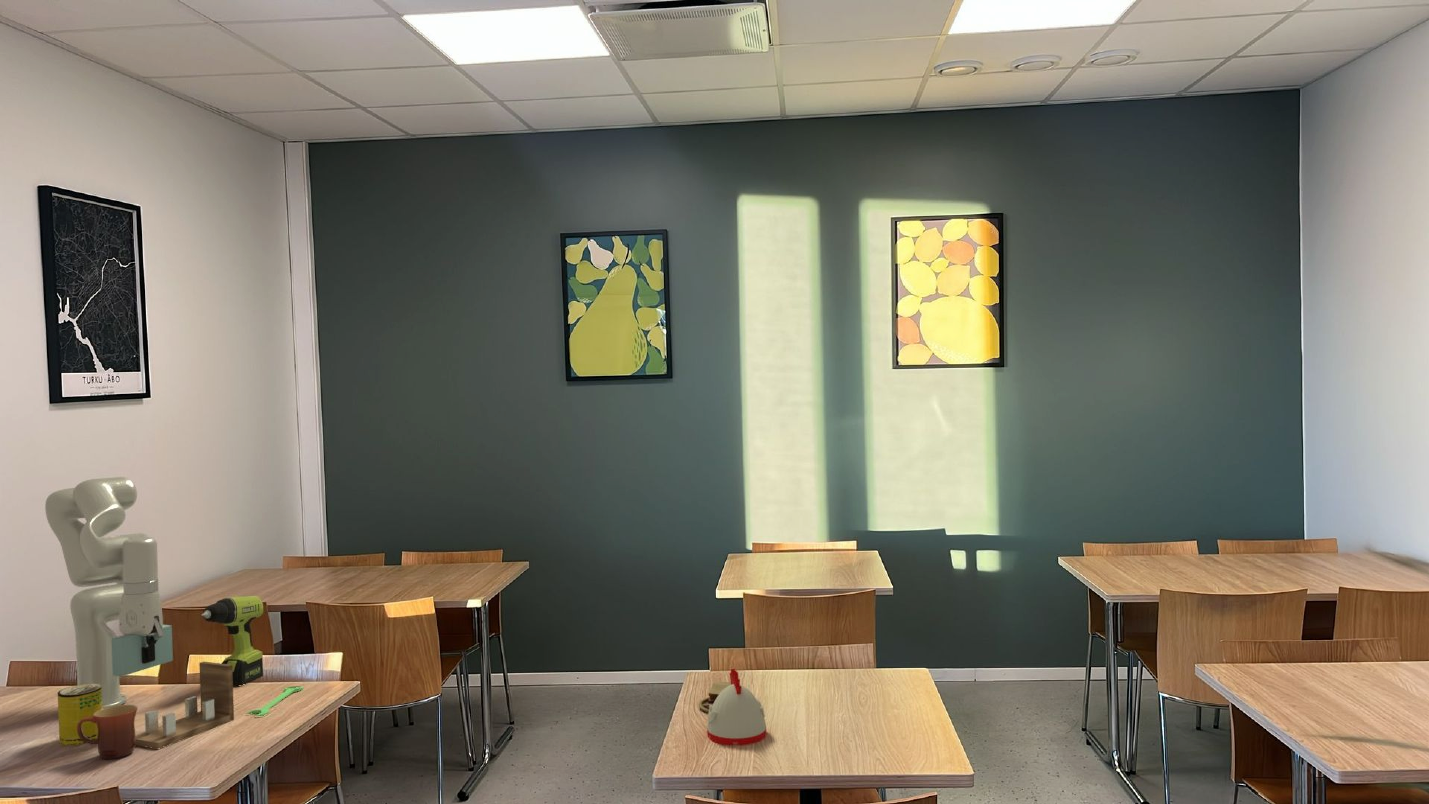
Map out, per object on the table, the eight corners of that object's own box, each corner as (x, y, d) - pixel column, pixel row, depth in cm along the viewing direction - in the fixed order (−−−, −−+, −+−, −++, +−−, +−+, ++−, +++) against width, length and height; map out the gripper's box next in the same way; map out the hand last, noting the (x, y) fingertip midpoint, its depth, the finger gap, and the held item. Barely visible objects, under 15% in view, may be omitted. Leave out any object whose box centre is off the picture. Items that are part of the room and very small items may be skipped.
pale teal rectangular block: (121, 676, 236) (120, 639, 236) (112, 675, 238) (111, 638, 237) (172, 660, 249) (171, 625, 249) (164, 659, 250) (163, 624, 250)
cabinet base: (159, 749, 229) (156, 689, 229) (128, 744, 233) (126, 685, 233) (234, 719, 249) (232, 664, 249) (205, 715, 253) (203, 661, 252)
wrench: (242, 722, 250) (263, 722, 250) (242, 715, 250) (262, 714, 250) (288, 689, 275) (307, 689, 275) (288, 682, 275) (307, 682, 275)
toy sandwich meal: (690, 713, 247) (690, 694, 247) (711, 696, 260) (711, 679, 259) (737, 718, 242) (736, 699, 242) (755, 701, 255) (755, 683, 255)
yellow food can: (110, 730, 243) (108, 682, 243) (93, 743, 234) (91, 693, 234) (70, 733, 242) (68, 685, 241) (52, 746, 233) (50, 696, 232)
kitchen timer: (757, 722, 239) (756, 661, 239) (773, 742, 226) (771, 677, 225) (702, 727, 236) (700, 665, 236) (714, 748, 223) (712, 682, 222)
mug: (141, 745, 232) (140, 702, 232) (136, 758, 224) (134, 713, 224) (82, 754, 228) (80, 710, 227) (74, 767, 220) (72, 721, 219)
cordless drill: (215, 698, 267) (212, 607, 266) (192, 697, 268) (189, 606, 267) (268, 673, 289) (265, 589, 289) (247, 672, 291) (244, 588, 290)
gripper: (103, 588, 243) (106, 662, 243) (150, 593, 236) (153, 668, 237) (131, 582, 250) (134, 654, 250) (178, 586, 243) (180, 660, 244)
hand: (143, 660), depth 243 cm, fingers closed on pale teal rectangular block, 3 cm apart
